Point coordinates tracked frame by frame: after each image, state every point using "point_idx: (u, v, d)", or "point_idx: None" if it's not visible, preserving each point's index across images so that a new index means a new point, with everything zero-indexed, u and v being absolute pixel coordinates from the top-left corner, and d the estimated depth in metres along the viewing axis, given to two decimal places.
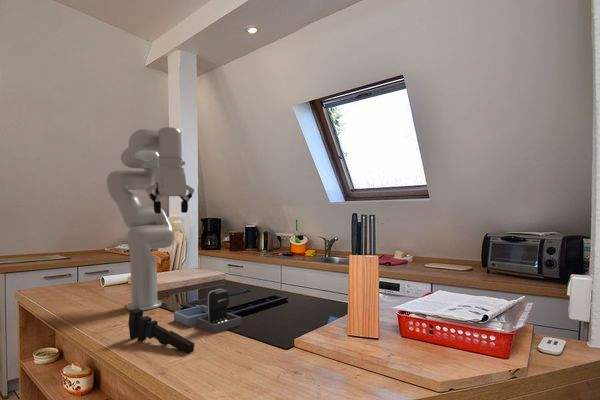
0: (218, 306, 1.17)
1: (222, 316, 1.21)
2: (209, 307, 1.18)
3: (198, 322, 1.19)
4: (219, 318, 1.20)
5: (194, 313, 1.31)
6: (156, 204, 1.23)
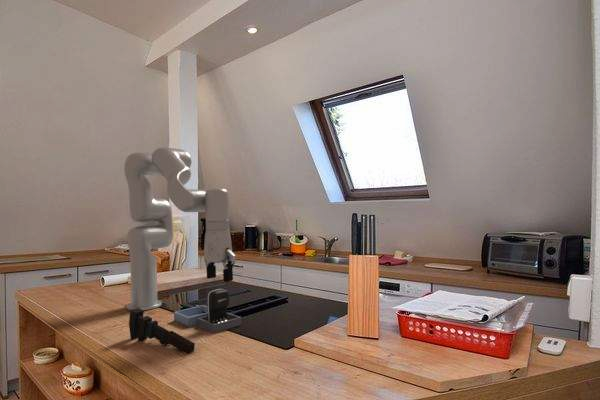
0: (218, 306, 1.17)
1: (222, 316, 1.21)
2: (209, 307, 1.18)
3: (198, 322, 1.19)
4: (219, 318, 1.20)
5: (194, 313, 1.31)
6: None
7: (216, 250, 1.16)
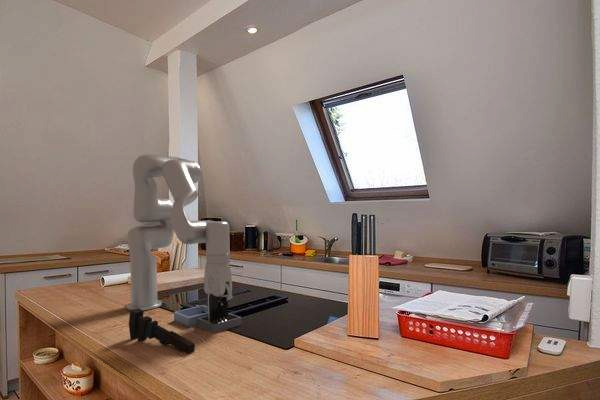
0: None
1: None
2: (209, 307, 1.18)
3: (198, 322, 1.19)
4: (219, 318, 1.20)
5: (194, 313, 1.31)
6: None
7: (216, 284, 1.16)
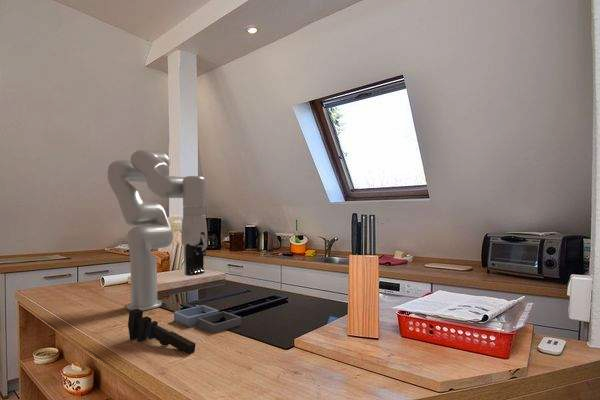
0: None
1: None
2: (185, 256, 1.24)
3: (198, 322, 1.19)
4: (195, 268, 1.26)
5: (194, 313, 1.31)
6: (201, 257, 1.25)
7: (192, 234, 1.22)
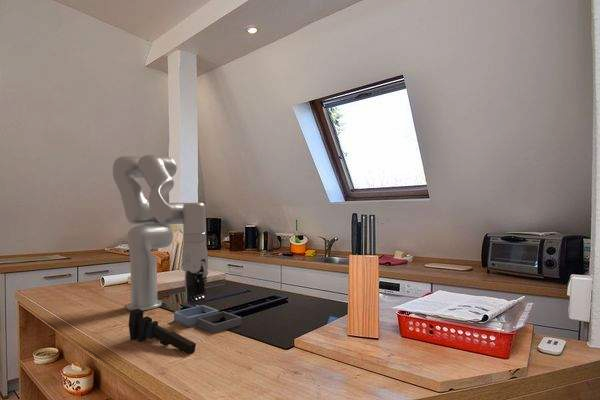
0: None
1: None
2: (186, 283, 1.24)
3: (198, 322, 1.19)
4: (196, 294, 1.26)
5: (194, 313, 1.31)
6: (202, 284, 1.25)
7: (192, 261, 1.22)
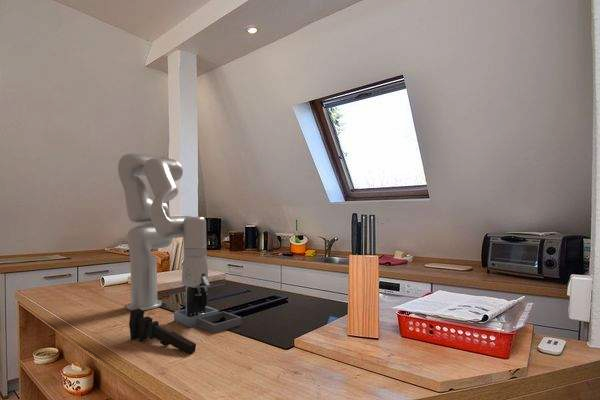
0: (195, 300, 1.24)
1: (200, 309, 1.27)
2: (186, 300, 1.24)
3: (198, 322, 1.19)
4: (197, 311, 1.26)
5: None
6: None
7: (192, 276, 1.22)
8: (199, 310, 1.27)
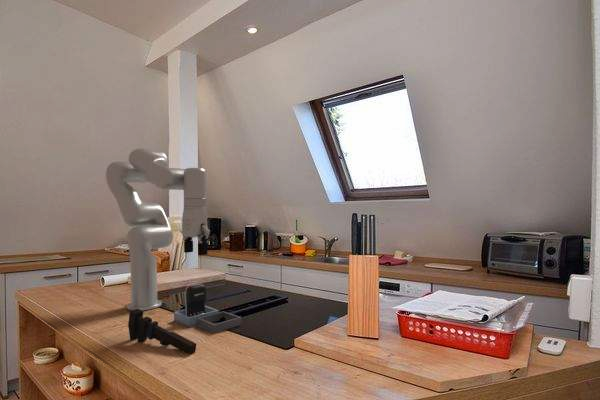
0: (194, 300, 1.24)
1: (200, 310, 1.27)
2: (186, 300, 1.24)
3: (198, 322, 1.19)
4: (196, 311, 1.26)
5: None
6: (205, 245, 1.24)
7: (192, 225, 1.23)
8: (199, 310, 1.27)
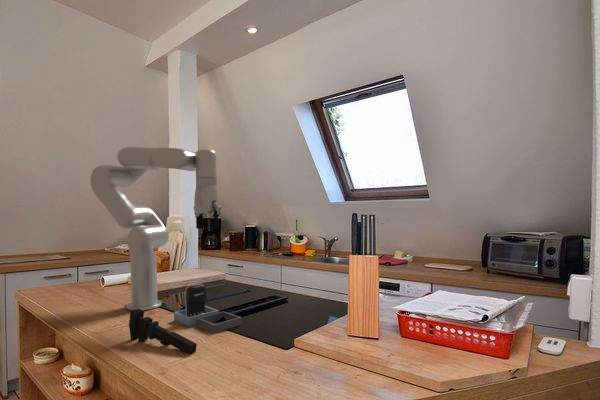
0: (194, 300, 1.24)
1: (200, 310, 1.27)
2: (186, 300, 1.24)
3: (198, 322, 1.19)
4: (196, 311, 1.26)
5: None
6: None
7: (204, 202, 1.34)
8: (199, 310, 1.27)
